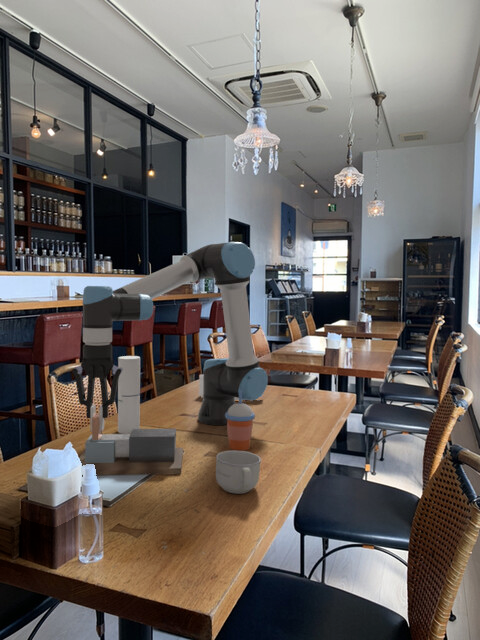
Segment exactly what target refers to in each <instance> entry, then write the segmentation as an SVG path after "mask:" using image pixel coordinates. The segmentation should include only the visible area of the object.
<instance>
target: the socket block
mask: <svg viewBox="0 0 480 640" xmlns="http://www.w3.org/2000/svg"><path fill="white" fill-rule="evenodd" d="M84 446H85V448H84V450H85V463H114V461H115V459H116V457H114V442H92V434H90V436H89V437H88V438H87V440H86V441H85V443H84Z"/></svg>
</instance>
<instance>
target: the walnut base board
mask: <svg viewBox="0 0 480 640" xmlns="http://www.w3.org/2000/svg"><path fill="white" fill-rule="evenodd" d="M183 456H184V447H176V454H175V461H174V462H136V463H129V457H116V459H115V461H114V463H85V449H84V450H83V451H82V453H81V454H80V456H79V457H78V458H80V461H81V463H82V466H83V465H86V464H94V465H95V469H96V474H97V475H96V476H124V475H125V476H127V475H131V476H132V475H133V476H135V475H136V476H137V475H182V470H183V469H182V468H183V467H182V466H183V458H184V457H183Z"/></svg>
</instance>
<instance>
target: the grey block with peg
mask: <svg viewBox="0 0 480 640" xmlns="http://www.w3.org/2000/svg"><path fill="white" fill-rule="evenodd" d="M91 433H92V434H91V435H92V442H114V457H129V436H130V434H122V433H109V434H107V433H106V434H104V433H103V431H99V412H96V414H95V415H94V416H93V417H92V431H91Z"/></svg>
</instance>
